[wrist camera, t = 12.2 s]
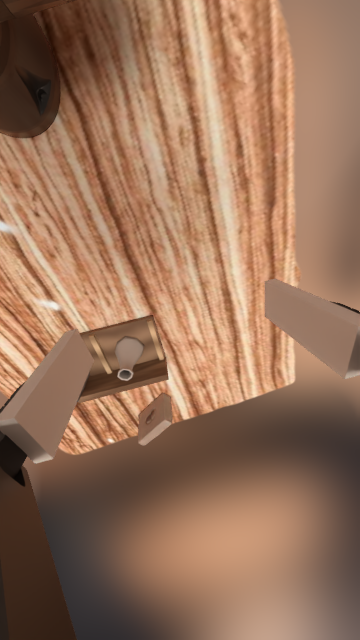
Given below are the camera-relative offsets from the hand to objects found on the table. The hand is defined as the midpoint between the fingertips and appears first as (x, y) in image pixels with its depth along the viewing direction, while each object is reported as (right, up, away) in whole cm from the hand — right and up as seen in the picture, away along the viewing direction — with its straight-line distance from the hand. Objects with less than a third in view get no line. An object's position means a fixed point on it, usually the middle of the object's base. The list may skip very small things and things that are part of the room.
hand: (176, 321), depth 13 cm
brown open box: (-16, -7, +37) cm, 41 cm away
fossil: (-8, -27, +48) cm, 56 cm away
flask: (-13, -7, +36) cm, 39 cm away
